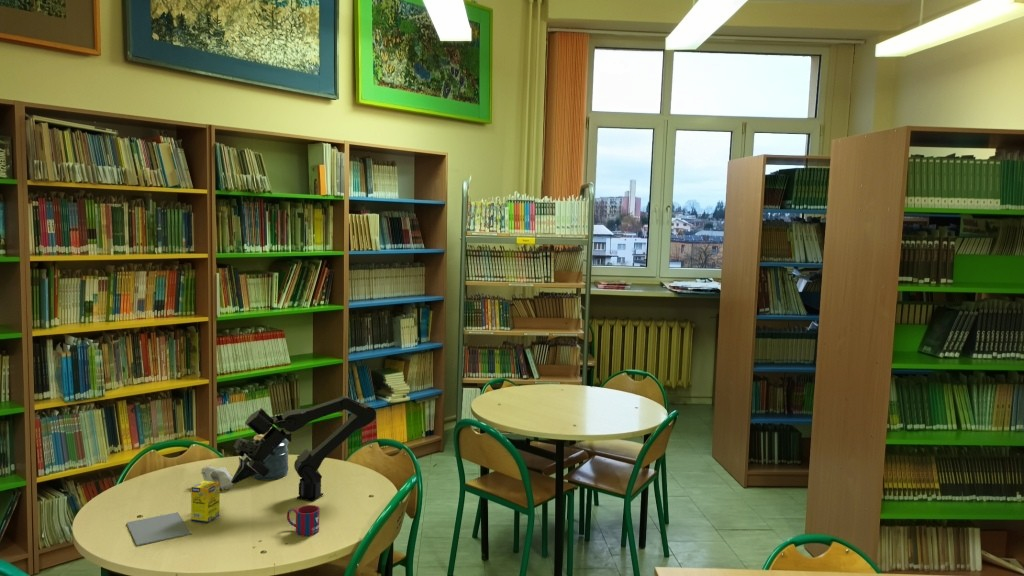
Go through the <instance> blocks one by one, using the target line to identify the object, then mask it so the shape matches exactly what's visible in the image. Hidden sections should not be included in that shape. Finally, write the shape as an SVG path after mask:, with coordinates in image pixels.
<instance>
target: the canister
mask: <svg viewBox="0 0 1024 576" xmlns="http://www.w3.org/2000/svg"><path fill="white" fill-rule="evenodd" d="M271 428H272V427H271ZM271 428H270V429H271ZM265 434H266V433H265ZM265 434H263V435H262V434H260V435H258V434H257V433H256V435H254V437H253V440H252V441H253V442H254V441H255V440H257V439H258V440H259V441H260V439H261V438H262V437H263V436H264V435H265ZM262 439H263V438H262ZM263 440H264V439H263ZM289 443H290V442H289V441H288V440H286V439H284V440H283V441H282V443H281V444H280V445H279V446H278V447H277V448H276V449H275V448H274V449H275V450H274V451H273V452H274V453H275V454H274V455H273V456H272V455H270V456H269V457H268V458H267V459H266V460H265V461H264V463H265V466H266V467H267V468H268V469H269V474H268V475H267V476H266V477H265V478H264V477H263V476H262V475H261V474H259V473H258V472H257V473H258V474H255V475H253V476H251V478H253V479H255V480H258V481H259V480H260V481H269V480H270V481H272V480H277V479H281V478H283V477H285V476H287V475H288V473H289V472H288V471H289V452H290V451H289V449H288V444H289Z"/></svg>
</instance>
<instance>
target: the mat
mask: <svg viewBox="0 0 1024 576" xmlns="http://www.w3.org/2000/svg"><path fill="white" fill-rule="evenodd" d="M126 524H127V525H126V526H127V528H128V530H129V532H130V534H131V537H132V538H133V541H134V543H135V546H136V547H139V546H145V545H149V544H153V543H158V542H164V541H167V540H171V539H176V538H180V537H181V538H182V537H186V536H190V535H192V532H191V531H190V529H189V528H188V526H187V524H186V523H185V521H184V519H183V518H182V517H181V515H180V513H179V511H178V512H171V513H167V514H163V515H156V516H152V517H146V518H142V519H136V520H132V521H127V522H126Z"/></svg>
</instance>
